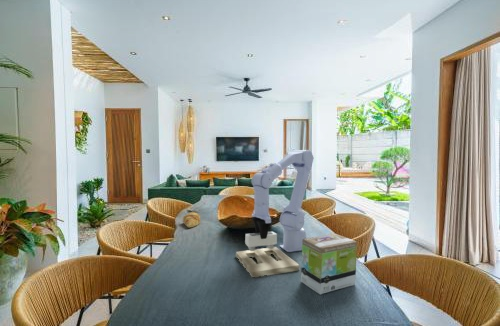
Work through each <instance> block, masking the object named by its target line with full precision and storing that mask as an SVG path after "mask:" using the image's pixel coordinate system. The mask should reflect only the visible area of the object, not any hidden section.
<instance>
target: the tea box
mask: <svg viewBox="0 0 500 326" xmlns="http://www.w3.org/2000/svg"><path fill="white" fill-rule="evenodd" d="M357 251H358V242H357V241H356V240H354V239H351V238H348V237H346V236H343V235H340V234H338V233H333V234H331V233H330V234H327V235H326V234H325V235H320V236H314V237H312V236H311V237H308V238H307V237H306V239H303V241H302V250H301V268H300V269H301V273H300V282H301V283H303V284H304V285H305V286H306V287H308V288H310V289H311V290H313V291H314V292H316V293H317V294H318V295H320V296H321V295H324V294H326V293H330V292H334V291H336V290H340V289H344V288H348V287H352V286H355V285H356V279H357V277H356V276H357V253H358V252H357Z"/></svg>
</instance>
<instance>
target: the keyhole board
mask: <svg viewBox="0 0 500 326" xmlns="http://www.w3.org/2000/svg"><path fill="white" fill-rule="evenodd" d="M271 254H273V255H274V256H273V255H271ZM235 257H236V259H237V258H238V259H239V260H238V259H237V260H238V261H239V262H240V264H241V263H242V264H243V265H242V264H241V265H242V266H243V268H244V269H245V268H246V269H245V270H246V271H247V273H248V272H249V273H250V274H249V273H248V274H249V275H250V276H251V278H252V277H255V278H260V277H259V276H261V277H265V276H264V275H267V276H272V275H278V274H279V275H280V274H284V273H292V272H299V271H300V264H299V263H298V262H296V261H295V260H294V259H293V258H291V257H289V256H288V255H287V254H285V253H284V252H283V251H282V250H281V249H279V248H278V247H277V246H274V248H273V249H269V248H268V247H266V248H257V249H256V248H255V251H250V250H249V249H247V250H241V251H235ZM249 257H252V258H249ZM274 257H275V258H274ZM253 258H255V259H256V261H254V259H253ZM277 260H278V261H277Z"/></svg>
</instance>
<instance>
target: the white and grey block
mask: <svg viewBox="0 0 500 326" xmlns="http://www.w3.org/2000/svg"><path fill="white" fill-rule="evenodd" d="M244 238H245V240H244V243H245V245H246V246H247V248H248V249H247V250H250V251H255V249H256V247H263V246H266V248H269V249H273V248H274V247H275V245H277V244H278V233H276V232H274V231H268V234H267V238H266V239H261V237H260V233H256V232H253V233H245V237H244Z"/></svg>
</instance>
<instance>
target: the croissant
mask: <svg viewBox="0 0 500 326" xmlns="http://www.w3.org/2000/svg"><path fill="white" fill-rule="evenodd" d="M182 222H183V224H184V226H186V228H194V227H196V226H198V225H200V223H201V216H200V214H198V213H197V212H194V211H192V212H189V213H186V214H184V216H183V217H182Z"/></svg>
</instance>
